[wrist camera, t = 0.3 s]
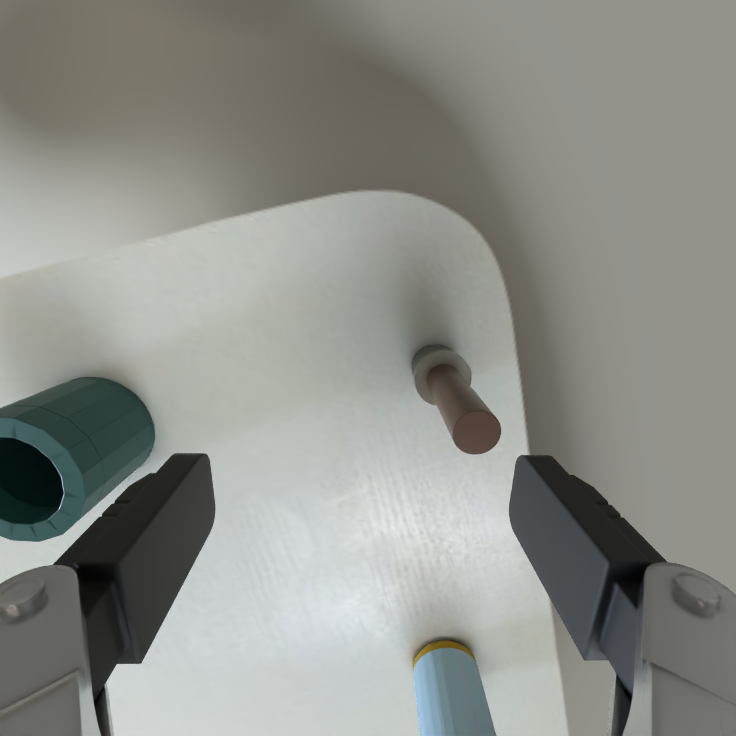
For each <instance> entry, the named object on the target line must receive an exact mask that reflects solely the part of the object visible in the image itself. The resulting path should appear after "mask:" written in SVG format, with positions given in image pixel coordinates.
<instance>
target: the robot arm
mask: <svg viewBox="0 0 736 736" xmlns="http://www.w3.org/2000/svg"><path fill="white" fill-rule="evenodd" d="M509 517H510V522H511V526H512V529H513V531H514V533H515V535H516V537H517V539H518V541H519V542H520V544H521V546H522V548H523V550H524V552H525V553H526V555H527V557H528V559H529V561H530V562H531V564H532V566H533V568H534V570H535V572H536V573H537V575H538V577H539V579H540V581H541V582H542V584H543V586H544V588H545V590H546V592H547V593H548V595H549V597H550V599H551V601H552V603H553V604H554V606H555V608H556V610H557V612H558V613H559V615H560V617H561V619H562V621H563V623H564V624H565V626H566V628H567V630H568V632H569V633H570V635H571V637H572V639H573V641H574V643H575V644H576V646H577V648H578V650H579V652H580V654H581V655H582V657H583V659H584V660H609V662H610V663H611V665H612V667H613V668H614V670H615V674H614V677H613V682H612V686H611V697H610V707H609V718H608V728H607V736H736V595H735V594H734V593H733V592H732V591H730V590H729V589H728V588H727V587H726V586H724V585H723V584H721V583H720V582H718V581H716V580H715V579H713V578H711V577H710V576H708V575H706V574H704V573H702V572H700V571H697V570H695V569H693V568H689V567H687V566H684V565H680V564H676V563H669V562H667V561H666V560H665V559H664V558H663V557H662V556H661V555H660V554H659V553H658V552H657V551H656V550H655V549H654V548H653V547H652V546H651V545H650V544H649V543H648V542H647V541H646V540H645V539H644V538H643V537H642V536H641V535H640V534H639V533H638V532H637V531H636V530H635V529H634V528H633V527H632V526H631V525H630V524H629V523H628V522H627V521H626V520H625V519H624V518H621V517H620V514H619V513H618V512H617V511H616V510H615V508H614V507H613V506H612V505H608V502H607V500H606V499H605V498H603V496H602V495H601V494H600V493H599V492H598V491H597V490H596V489H595V488H594V487H592V486H591V485H589V484H587V483H586V482H584V481H582V480H581V479H579V478H578V477H576V476H574V475H569V474H568V473H567V472H566V471H565V470H564V469H563V468H562V466H560V464H559V463H558V462H557V461H556V460H555V459H554V458H553V457H552V456H548V455H542V456H541V455H536V456H535V455H521V456H519V457H518V458H517V461H516V465H515V471H514V478H513V484H512V491H511V497H510V504H509ZM214 518H215V499H214V491H213V483H212V475H211V466H210V460H209V457H208V455H207V454H202V453H176V454H173V455H172V456H171V457H170V458H169V459H168V460H167V461H166V462H165V464H164V465H163V466H162V467H161V468H160V469H159V470H158V471H157V472H156V473H150V474H148V475H146V476H145V477H143V478H142V479H140V480H138V481H137V482H135V483H133V484H132V485H130V486H129V487H128V488H127V489H126V490H125V491H124V492H123V493H122V494H121V495H120V496H119V497H118V498H117V499H116V500H115V503H114V504H111V505H110V506H109V507H108V508H107V509H106V510H105V511H104V513H103V514H102V517H99V518H98V519H97V520H96V521H95V522H94V523H93V524H92V525H91V526H90V527H89V528H88V529H87V530H86V531H85V532H84V533H83V534H82V535H81V536H80V537H79V538H78V539H77V540H76V541H75V542H74V543H73V544H72V546H71V547H70V548H69V549H68V550H67V551H66V552H65V553H64V554H63V555H62V556H61V557H60V558H59V559H58V560H57V561H56V562H55V563H54V564H53V565H49V566H43V567H39V568H35V569H32V570H29V571H26V572H23V573H21V574H18V575H16V576H14V577H12V578H10V579H8V580H6V581H4V582H3V583H1V584H0V736H114V732H113V725H112V717H111V709H110V701H109V693H108V689H107V685H106V681H107V680H108V678H109V676H110V675H111V673H112V671H113V669H114V668H115V666H116V664H141V663H142V661H143V659H144V657H145V655H146V653H147V651H148V649H149V648H150V646H151V644H152V642H153V640H154V638H155V636H156V634H157V632H158V630H159V629H160V627H161V625H162V623H163V621H164V619H165V617H166V615H167V613H168V611H169V610H170V608H171V606H172V604H173V602H174V600H175V598H176V596H177V594H178V592H179V590H180V589H181V587H182V585H183V583H184V581H185V579H186V577H187V575H188V573H189V571H190V570H191V568H192V566H193V564H194V562H195V560H196V558H197V556H198V554H199V552H200V551H201V549H202V547H203V545H204V543H205V541H206V539H207V537H208V535H209V533H210V531H211V529H212V526H213V523H214Z"/></svg>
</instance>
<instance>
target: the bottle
mask: <svg viewBox="0 0 736 736" xmlns="http://www.w3.org/2000/svg"><path fill="white" fill-rule="evenodd" d="M413 672H414V684H415V693H416V703H417V712H418V721H419V730H420V736H496V733H495V730H494V726H493V722H492V718H491V715H490V711H489V707H488V704H487V700H486V696H485V692H484V689H483V685H482V681H481V678H480V674H479V670H478V666H477V664H476V660H475V658H474V655H473V654H472V653H471V652H470V651H469V650H468V649H467V648H466V647H464V646H463V645H461V644H459V643H457V642H454V641H449V640H440V641H436V642H432V643H430V644H428V645H427V646H425V647H424V648H423V649H422V650H421V651H420V652H419V654H418V655H417V656H416V658H415V660H414V663H413Z"/></svg>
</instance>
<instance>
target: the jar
mask: <svg viewBox="0 0 736 736" xmlns="http://www.w3.org/2000/svg"><path fill="white" fill-rule="evenodd" d="M153 444H154V426H153V422H152V419H151V416H150V414H149V412H148V410H147V409H146V407H145V406H144V404H143V403H142V402H141V400H140V399H139V398H138V397H137V396H136V395H135V394H133V393H132V392H131V391H130V390H128V389H127V388H125V387H124V386H122V385H120V384H118V383H116V382H113V381H110V380H107V379H103V378H96V377H84V378H78V379H74V380H72V381H69V382H66V383H63V384H60V385H58V386H55V387H53V388H50V389H48V390H45V391H43V392H40V393H37V394H35V395H32V396H30V397H27V398H25V399H22V400H20V401H17V402H15V403H12V404H10V405H7V406H5V407H2V408H0V536H2V537H4V538H7V539H10V540H16V541H33V542H38V541H39V542H40V541H43V540H46V539H50V538H53V537H56V536H59V535H62V534H64V533H65V532H66V531H67V530H68V529H69V528H71V527H72V526H73V525H74V524H75V523H76V522H77V521H78V520H80V519H81V518H82V517H83V516H84V515H85V514H86V513H87V512H89V511H90V510H91V509H92V508H93V507H94V506H95V505H96V504H98V503H99V502H100V501H101V500H102V499H103V498H104V497H105V496H107V495H108V494H109V493H110V492H111V491H112V490H113V489H114V488H116V487H117V486H118V485H119V484H120V483H121V482H122V481H123V480H125V479H126V478H127V477H128V476H129V475H130V474H131V473H132V472H134V471H135V470H136V469H137V468H138V467H139V466H140V465H141V464H142V463H144V462H145V460H146V459H147V458H148V456H149V455H150V453H151V450H152V448H153Z"/></svg>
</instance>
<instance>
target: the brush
mask: <svg viewBox="0 0 736 736" xmlns="http://www.w3.org/2000/svg"><path fill="white" fill-rule="evenodd" d="M412 372H413V375H414V384H415V387H416V390H417V392H418V394H419V395H420V396H421V398H422V399H423V400H425V401H426V402H428V403H430V404H432V405H436V406H437V407H438V409H439V411H440V413H441V416H442V418H443V420H444V422H445V424H446V426H447V428H448V430H449V432H450V434H451V437H452V439H453V441H454V443H455V445H456V446H457V447H458V448H459V449H460V450H461V451H463V452H465V453H468V454H482V453H485V452H487V451H489V450H491V449H492V448H493V447H494V446H495V445H496V444H497V442H498V441H499V438H500V435H501V426H500V423H499V421H498V419H497V418H496V417H495V416H494V414H493V413H492V412H491V411H490V410H489V408H488V407H487V406H486V405H485V403H484V402H483V401H482V400H481V399H480V397H479V396H478V395H477V394H476V392H475V391H474V390H473V389H472V388H471V386H470V384H471V371H470V368H469V366H468V364H467V363H466V362H465V361H464V360H463V358H462V357H461V356H459V355H458V354H456V353H455V352H452V351H451V350H450V349H449V348H448V347H446V346H443V345H439V344H432V345H428V346H425V347H424V348H422V349H421V350H420V351H418V353H417V354H416V355H415V357H414V359H413V362H412Z"/></svg>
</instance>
